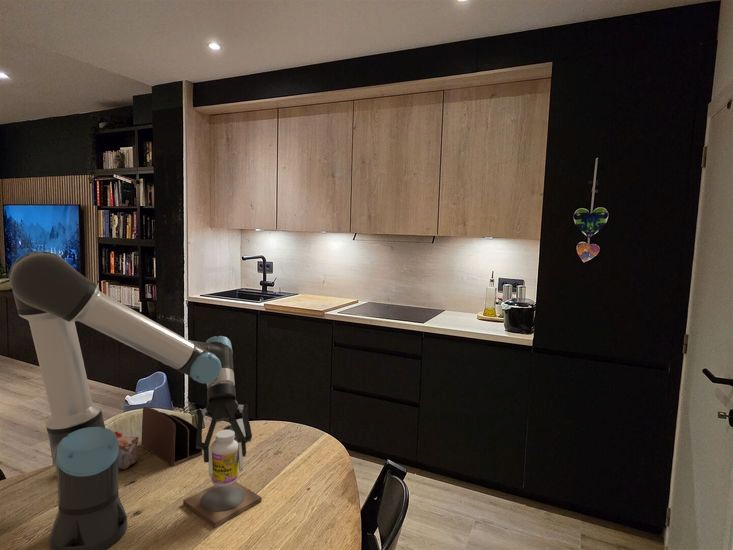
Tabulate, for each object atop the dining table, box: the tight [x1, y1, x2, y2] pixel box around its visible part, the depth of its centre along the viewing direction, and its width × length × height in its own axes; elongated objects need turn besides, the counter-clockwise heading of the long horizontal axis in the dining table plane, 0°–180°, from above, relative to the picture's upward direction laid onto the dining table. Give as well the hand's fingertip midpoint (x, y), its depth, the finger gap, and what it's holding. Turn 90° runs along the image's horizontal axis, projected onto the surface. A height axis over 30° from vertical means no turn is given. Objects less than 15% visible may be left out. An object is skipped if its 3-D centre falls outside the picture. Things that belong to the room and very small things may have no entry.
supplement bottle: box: [210, 429, 239, 487], centre depth 116 cm, size 7×7×13 cm
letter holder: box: [140, 406, 203, 467], centre depth 142 cm, size 10×20×14 cm, turn 52°
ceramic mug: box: [222, 418, 252, 443], centre depth 150 cm, size 11×8×8 cm
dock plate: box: [182, 481, 263, 529], centre depth 116 cm, size 14×14×1 cm
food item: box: [113, 431, 139, 470], centre depth 132 cm, size 14×8×10 cm, turn 90°
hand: (226, 472), depth 113 cm, fingers closed on supplement bottle, 7 cm apart
